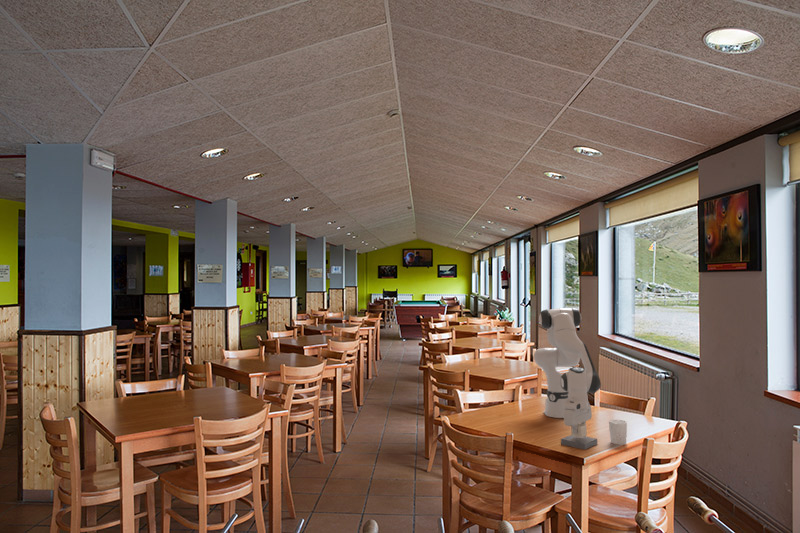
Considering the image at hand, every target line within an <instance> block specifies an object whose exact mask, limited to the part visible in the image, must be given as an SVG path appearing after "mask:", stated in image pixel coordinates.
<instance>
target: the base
mask: <svg viewBox="0 0 800 533" xmlns="http://www.w3.org/2000/svg"><path fill="white" fill-rule="evenodd" d="M560 444H561V445H563V446H567V447H572V448H576V449H580V450H588V449H590V448H592V447H594V446H597V445H598V438H595V437H590V436H585V437H582V438H580V437H575V436H572V434H569V435H567V436H565V437H562V438H561V439H560Z"/></svg>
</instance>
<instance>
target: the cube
mask: <svg viewBox="0 0 800 533" xmlns="http://www.w3.org/2000/svg"><path fill="white" fill-rule="evenodd" d="M570 428H571V432H570V433H571V434H570V435H572V436H575V437H580V438H582V437H585V436H586V437H588V435H587V433H588V432H587V424H585V425H584V424H581V423H580V424H577V430H578V433H577V434H574V433H573V429H572V427H571V426H570Z"/></svg>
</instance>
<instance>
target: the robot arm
mask: <svg viewBox="0 0 800 533" xmlns="http://www.w3.org/2000/svg"><path fill="white" fill-rule="evenodd" d="M538 322H539V325H540V326H541V328H543V329H546V340H547V342H548V344H550V346H552V347H540V348H537V349H536V350H535V352H534V353H533V360H534V362H535V364H536V365H537V366H538V367H540V368H541V369H542V370H543V372H544V374H545V376H546V381H547V382H546V383H547V390H546V396H547V398H545V407H544V410H543V414H544V415H545V416H546V417H549V418H556V419H563V420H564V421H563V422H564V425H565V426H568V427H570V428H571V427H572V429H573V433H574V434H577V433H578V430H577V424H584V425H587V421H589V420H592V417H593V415H592V407H591V404H590V402H589V400H588V399H589V397H588V394H595V393H597V392H598V391H599V390H600V389H601V387H602V384H601V378H600V376H599V373H598V372H597V370H596V367H595V365H594V363H593V360H592V357H591V354H590V352H589V349H588V347H587V344H586V343H585V342H584V341H582V340H581V339H580V338H579V336H578V334H577V330H576V328H578V327H579V326H580V325H581V322H582V314H581V312H580V310H579V309H578V308H575V307H571V308H569V307H566V308H565V307H559V308H552V309H551V308H550V309H543V310H541V311H540V312H539V316H538ZM580 362H582V365H583V367H579V366H578V364H579V363H580ZM556 368H568V371H566V372H563V373H561V372H559V371H558V370H557V369H556Z"/></svg>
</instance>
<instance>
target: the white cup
mask: <svg viewBox="0 0 800 533" xmlns="http://www.w3.org/2000/svg"><path fill="white" fill-rule="evenodd" d="M608 426H609V438H610V443H611V444H614V445H617V446H624V445H626V444H627V436H628V433H627V432H628V429H627V428H628V422H627V421H626V420H623V419H609V420H608Z"/></svg>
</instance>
